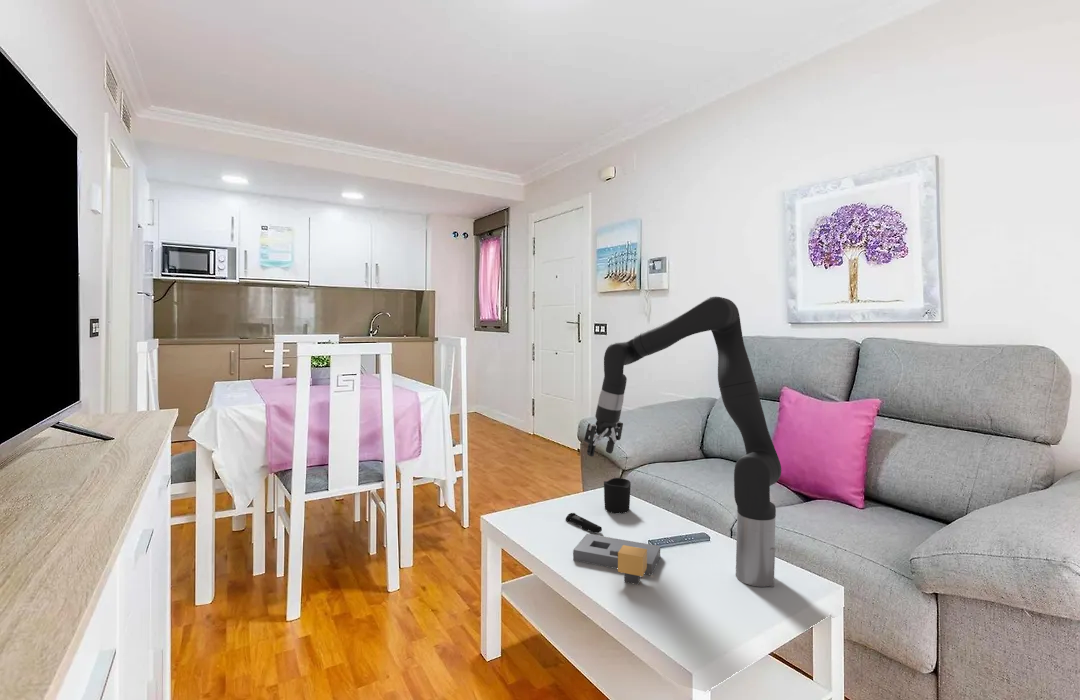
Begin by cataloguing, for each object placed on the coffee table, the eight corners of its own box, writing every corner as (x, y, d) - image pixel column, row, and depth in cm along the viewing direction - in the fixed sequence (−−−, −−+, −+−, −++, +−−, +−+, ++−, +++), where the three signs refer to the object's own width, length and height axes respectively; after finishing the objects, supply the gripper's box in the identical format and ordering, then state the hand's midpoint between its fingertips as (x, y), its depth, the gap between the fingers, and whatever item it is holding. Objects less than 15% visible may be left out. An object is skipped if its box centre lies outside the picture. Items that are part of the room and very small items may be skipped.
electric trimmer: (595, 537, 163) (595, 528, 163) (564, 521, 176) (564, 512, 176) (604, 535, 166) (604, 525, 165) (573, 519, 178) (573, 510, 178)
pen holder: (632, 514, 182) (632, 486, 181) (605, 514, 181) (605, 486, 181) (627, 504, 191) (627, 477, 190) (601, 504, 191) (602, 477, 190)
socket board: (660, 556, 150) (660, 543, 149) (651, 575, 138) (651, 561, 138) (586, 543, 158) (586, 530, 158) (573, 560, 147) (573, 546, 147)
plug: (646, 579, 137) (647, 549, 136) (642, 588, 132) (642, 557, 131) (612, 572, 140) (613, 543, 140) (607, 581, 136) (607, 550, 135)
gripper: (602, 410, 155) (592, 461, 158) (633, 408, 164) (623, 456, 167) (585, 402, 161) (575, 451, 163) (616, 400, 170) (606, 447, 173)
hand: (599, 454), depth 165 cm, fingers open, 8 cm apart
